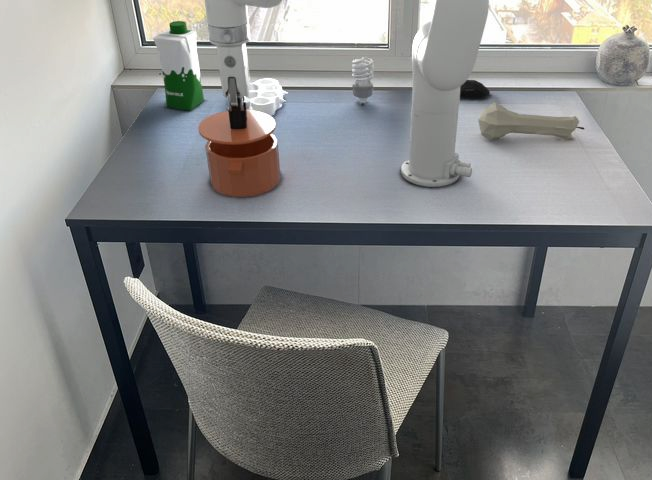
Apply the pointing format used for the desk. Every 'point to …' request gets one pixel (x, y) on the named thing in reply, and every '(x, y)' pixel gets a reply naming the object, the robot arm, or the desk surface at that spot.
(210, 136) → the pot lid
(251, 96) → the white muffin tray
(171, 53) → the milk carton
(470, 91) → the gaming mouse
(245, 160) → the pot
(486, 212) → the desk surface
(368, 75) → the light bulb
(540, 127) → the faceted club
